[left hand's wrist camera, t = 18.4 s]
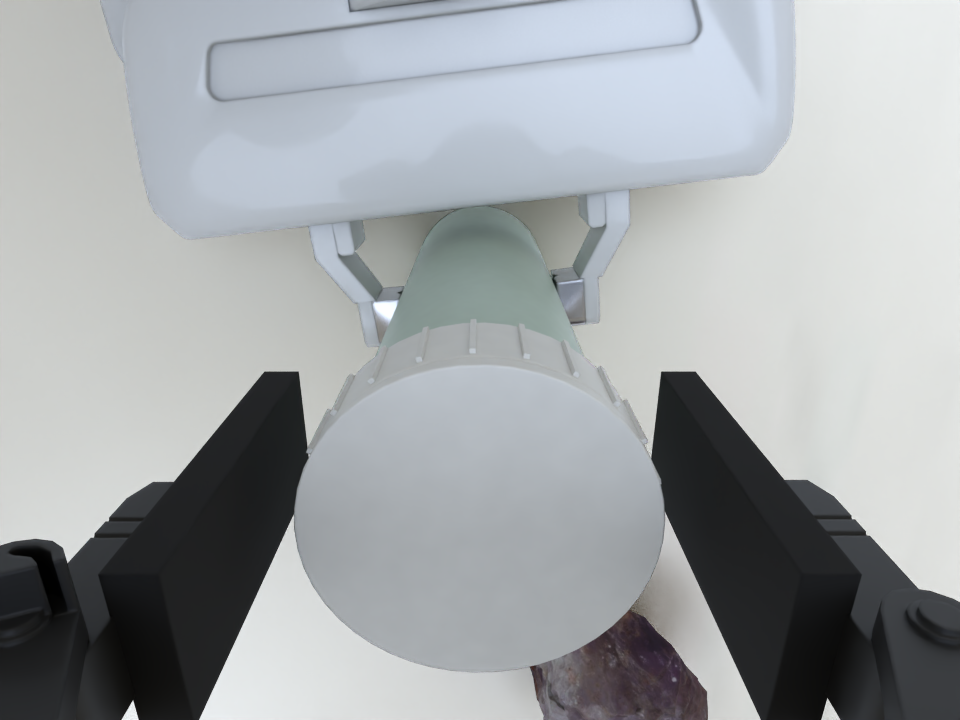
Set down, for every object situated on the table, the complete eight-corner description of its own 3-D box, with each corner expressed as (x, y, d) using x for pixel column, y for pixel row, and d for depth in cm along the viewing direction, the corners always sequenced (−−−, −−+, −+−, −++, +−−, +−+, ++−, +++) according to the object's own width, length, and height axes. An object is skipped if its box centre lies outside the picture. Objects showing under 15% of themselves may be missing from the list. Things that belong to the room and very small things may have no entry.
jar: (501, 346, 30) (530, 670, 13) (397, 289, 29) (274, 559, 12) (564, 245, 28) (698, 463, 11) (456, 181, 27) (413, 310, 10)
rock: (528, 682, 39) (687, 645, 38) (544, 843, 32) (742, 805, 30) (463, 561, 34) (648, 512, 32) (465, 723, 26) (705, 669, 25)
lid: (661, 322, 11) (700, 366, 9) (620, 600, 14) (644, 681, 12) (309, 311, 11) (273, 353, 9) (328, 591, 14) (303, 672, 12)
